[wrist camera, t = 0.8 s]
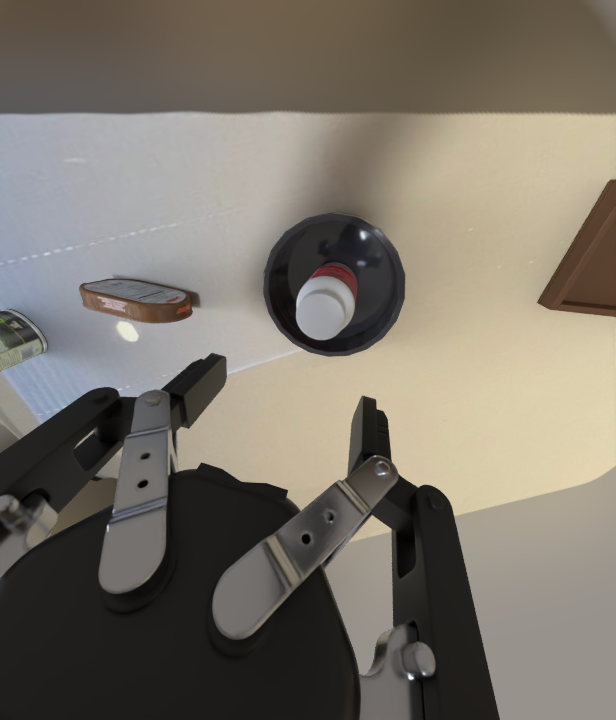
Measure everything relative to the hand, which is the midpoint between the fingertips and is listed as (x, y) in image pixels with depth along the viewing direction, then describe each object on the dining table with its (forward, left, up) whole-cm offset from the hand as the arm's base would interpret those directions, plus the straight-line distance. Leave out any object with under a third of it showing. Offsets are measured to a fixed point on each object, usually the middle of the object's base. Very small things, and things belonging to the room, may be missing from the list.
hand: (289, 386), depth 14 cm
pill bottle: (0, 0, -22) cm, 22 cm away
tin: (+14, -24, -22) cm, 35 cm away
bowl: (0, 0, -22) cm, 22 cm away
